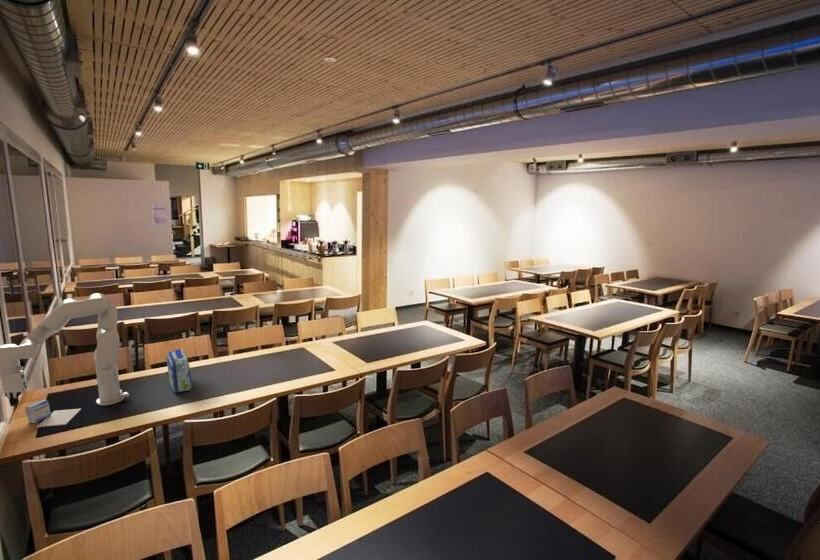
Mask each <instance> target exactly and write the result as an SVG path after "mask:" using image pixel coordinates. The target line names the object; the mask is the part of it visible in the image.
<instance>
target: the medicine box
mask: <svg viewBox="0 0 820 560" xmlns="http://www.w3.org/2000/svg"><path fill="white" fill-rule="evenodd" d="M24 408H25V413H26V414H25V415H26V418H27V422H28V423H31V424H38V423H40V422H42V421H44V420H45V419H46V418H47V417H49V416H51V413H52V412H51V409H50V408H51V407H50V404H49V400H47V399H40V400H38V401H36V402H33V403H31V404H29V405H27V406H25V407H24Z"/></svg>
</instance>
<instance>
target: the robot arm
mask: <svg viewBox="0 0 820 560" xmlns="http://www.w3.org/2000/svg"><path fill="white" fill-rule="evenodd" d="M94 315H95V316H96V315H97V326H96V327H97V328H96V329H97V330H96V333H95V334H96V348H95V350H94V352H93V359H94V364H95V365H94V366H95V371H96V372H95V373H96V381H97V389H98V390H97V391H98V398H97V399H96V400H95V404H97V405H98V406H111V405H115V404H117V403H119V402H122V401H123V400H125V399H124V398H128V397H129V393H128V391H124V392H123V390H122V389H121V388H120V379H119V369H118V368H119V366H118V359H119V352H120V351H119V349H120V336H119V333H118V309H117V306H116V304H115V302H114V301H113V300H112V299H111V298H110V297H109V296H107V295H105V294H103V293H99V292H96V293H92V294H90V295H89V296H88V297H87V298H86V299H82V300H76V299H74V298H65V299H63V300H62V301H61V302H59V303H58V304H57V305H56V306H55V308H54V309H52V311H51V312H50V313H49V314H48V315H47V316H46V317H45V318H44V319H42V321H41V322H39V324H37V325H36V326H35V327H34V328H33V329H32V330H30V332H29V333H27V335H26V336H25V338H23V339H22V341H20V343H19V345H17V344H16V343H5V344H2V345H0V377H1V381H2V386H3V391H4V393H5V395H4V396H5V397H6V398H7V399H8V402H9V405H10V407H16V406H18V404H19V402H20V399H19V396H20V395H23V394H26V393H27V392H28V391H27V388H28V386H29V385H28V380H27V377H26V374H25V372H24V366H22V365H21V362H20V360H28V359H33V358H35V357H37V355H38V354H39V352H40V347H41V346H42V345H43V344H44V343H45V341H47V339H49V337H51V336H52V335H54V334H56V333H58V332H60V331H62V329H63V328H64V327H65V326H66V325H67V324H68V322H70V321H71V319H78V318H84V317H89V316H94Z"/></svg>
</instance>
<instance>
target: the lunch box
mask: <svg viewBox="0 0 820 560" xmlns="http://www.w3.org/2000/svg"><path fill="white" fill-rule="evenodd" d="M166 363H167V364H166V365H167V371H166V372H167V377H168V382H169V383H170V386H171V388H172V391H173V392H174V393H175V394H178V393H181V392H187V391H191V390H192V387H193V386H192V385H193V384H192V376H191V375H192V374H191V368H190V363H189V361H188V358H187V355H186V352H185V351H184V349H180V348H179V349H175V350H172V351H168V352H167V357H166Z"/></svg>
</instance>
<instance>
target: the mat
mask: <svg viewBox="0 0 820 560" xmlns="http://www.w3.org/2000/svg"><path fill="white" fill-rule="evenodd" d="M81 410H82V408H72V409H60V410H53V411H52V412H51V416H49V417H47V418H45V419H43V420H41V421H40V422H39V424H38V425H37V426H36V428H42V427H43V428H46V427H53V426H54V427H55V426H64V425H65V426H66V425H67V424H68V423H69V422H70V421H71V420H72V419H73V418H74V417H75V416H76V415H77V414H78V413H79V412H80V411H81ZM45 426H46V427H45Z"/></svg>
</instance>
